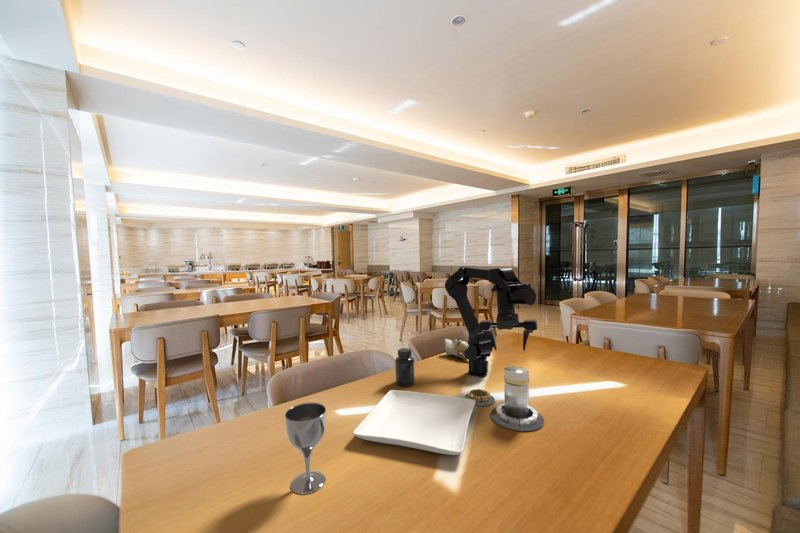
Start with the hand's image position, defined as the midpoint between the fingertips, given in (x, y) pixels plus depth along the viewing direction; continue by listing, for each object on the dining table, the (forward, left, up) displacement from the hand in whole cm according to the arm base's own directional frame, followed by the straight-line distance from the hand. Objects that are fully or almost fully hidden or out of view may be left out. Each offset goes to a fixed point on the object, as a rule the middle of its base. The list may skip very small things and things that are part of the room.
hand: (509, 350), depth 114 cm
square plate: (-18, -36, -13) cm, 42 cm away
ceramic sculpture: (-25, +24, -13) cm, 37 cm away
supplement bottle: (-34, -12, -13) cm, 38 cm away
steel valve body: (+5, -21, -12) cm, 25 cm away
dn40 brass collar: (-7, -14, -13) cm, 20 cm away
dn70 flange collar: (+5, -21, -13) cm, 25 cm away
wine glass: (-30, -66, -13) cm, 74 cm away
